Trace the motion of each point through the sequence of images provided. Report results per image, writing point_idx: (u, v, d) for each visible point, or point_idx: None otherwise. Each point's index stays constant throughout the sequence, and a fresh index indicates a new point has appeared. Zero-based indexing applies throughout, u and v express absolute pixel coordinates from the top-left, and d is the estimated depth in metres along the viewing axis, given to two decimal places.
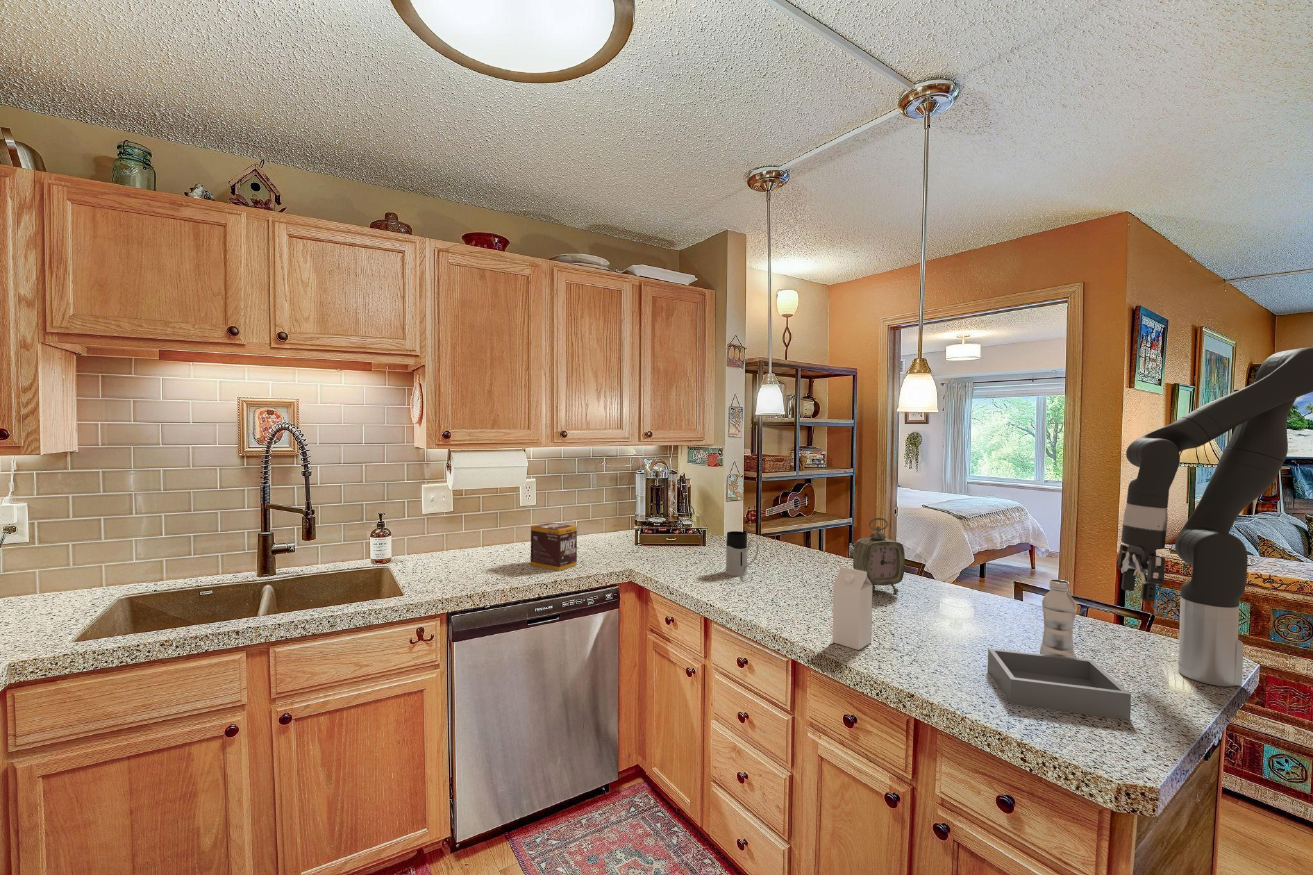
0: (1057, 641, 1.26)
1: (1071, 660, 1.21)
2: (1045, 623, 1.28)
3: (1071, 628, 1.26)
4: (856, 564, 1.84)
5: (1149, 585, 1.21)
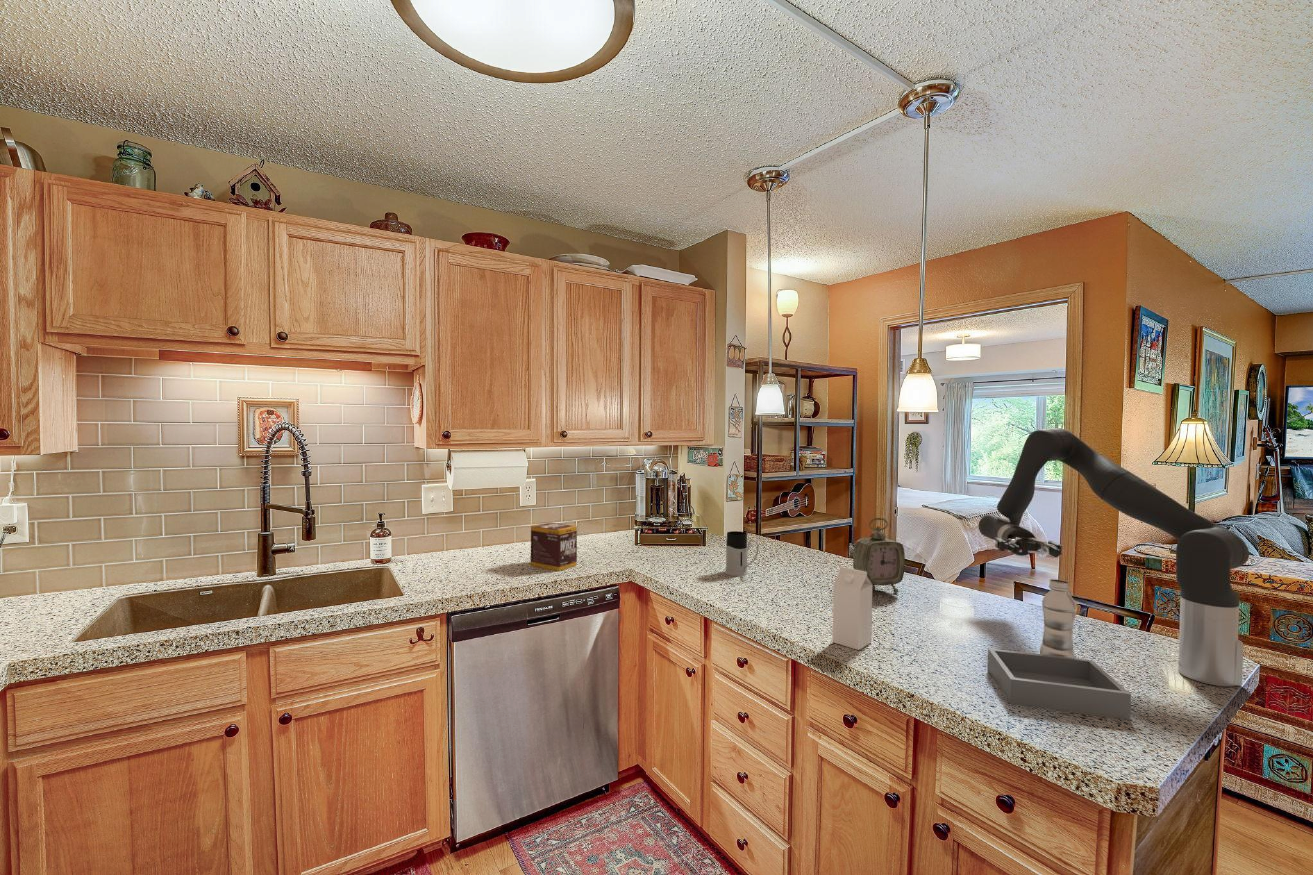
0: (1057, 641, 1.26)
1: (1071, 660, 1.21)
2: (1045, 623, 1.28)
3: (1071, 628, 1.26)
4: (856, 564, 1.84)
5: (1008, 548, 1.46)
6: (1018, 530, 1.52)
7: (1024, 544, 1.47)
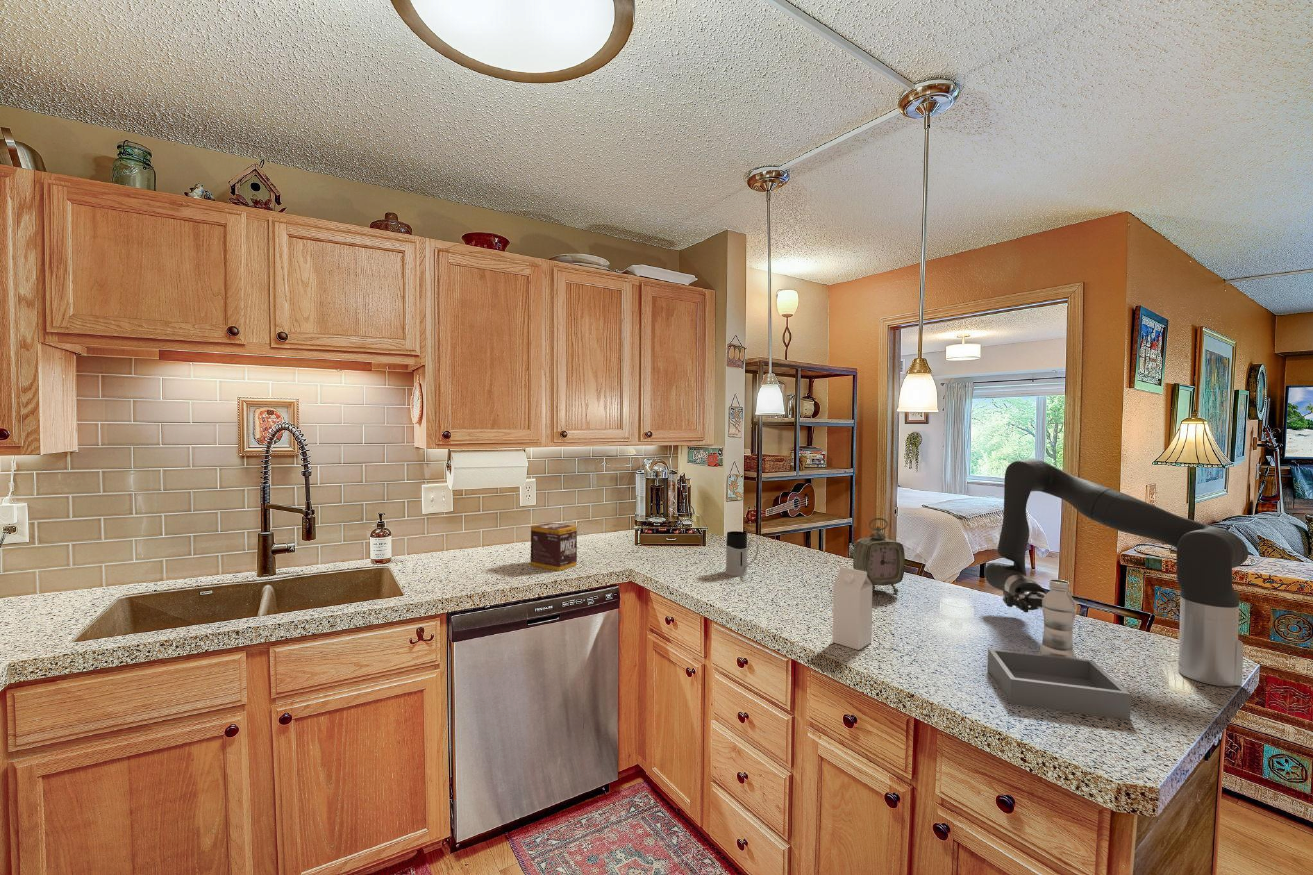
0: (1057, 641, 1.26)
1: (1071, 660, 1.21)
2: (1045, 623, 1.28)
3: (1071, 628, 1.26)
4: (856, 564, 1.84)
5: (1016, 605, 1.40)
6: (1026, 583, 1.46)
7: (1033, 600, 1.41)
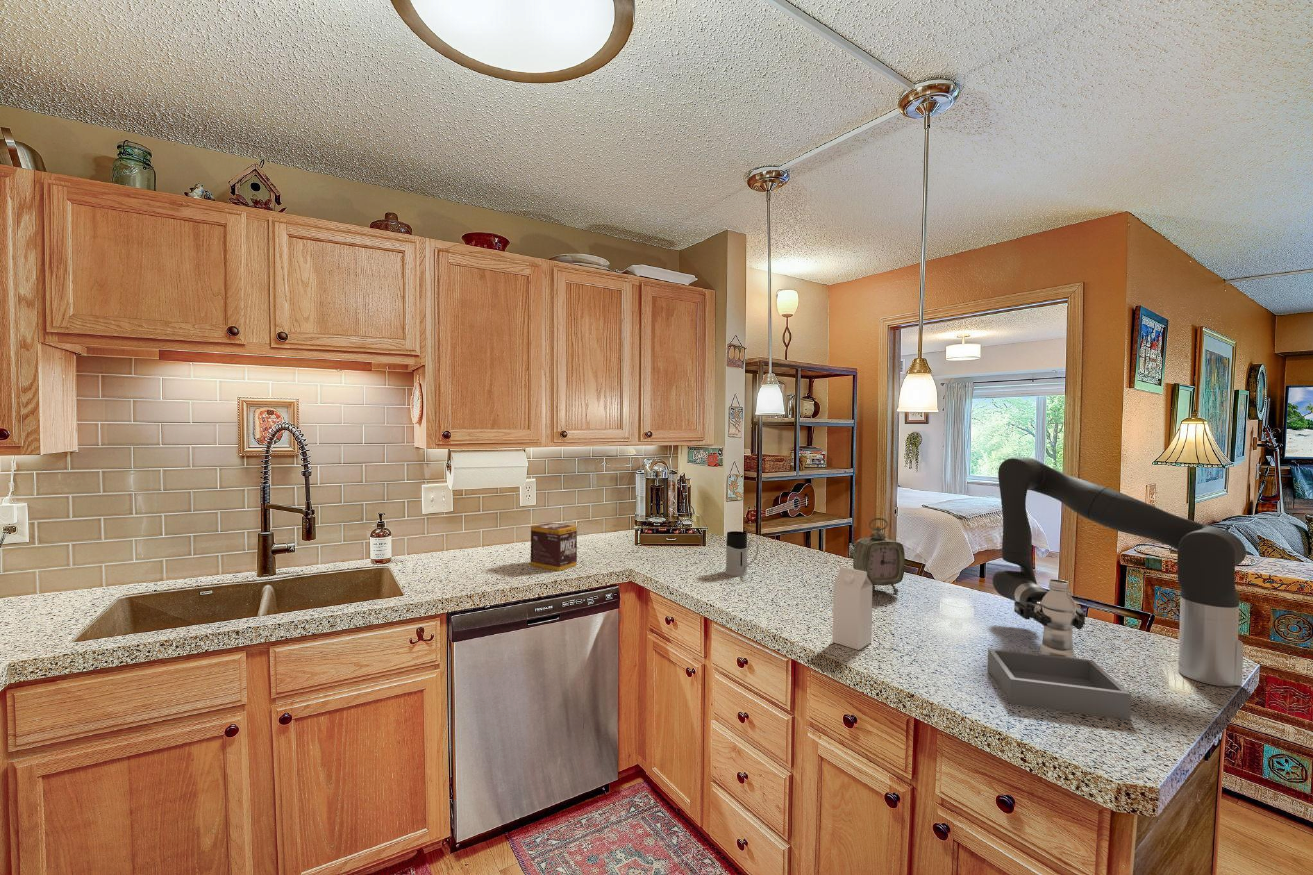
0: (1057, 641, 1.26)
1: (1071, 660, 1.21)
2: None
3: (1071, 628, 1.26)
4: (856, 564, 1.84)
5: (1034, 617, 1.30)
6: (1038, 593, 1.37)
7: None
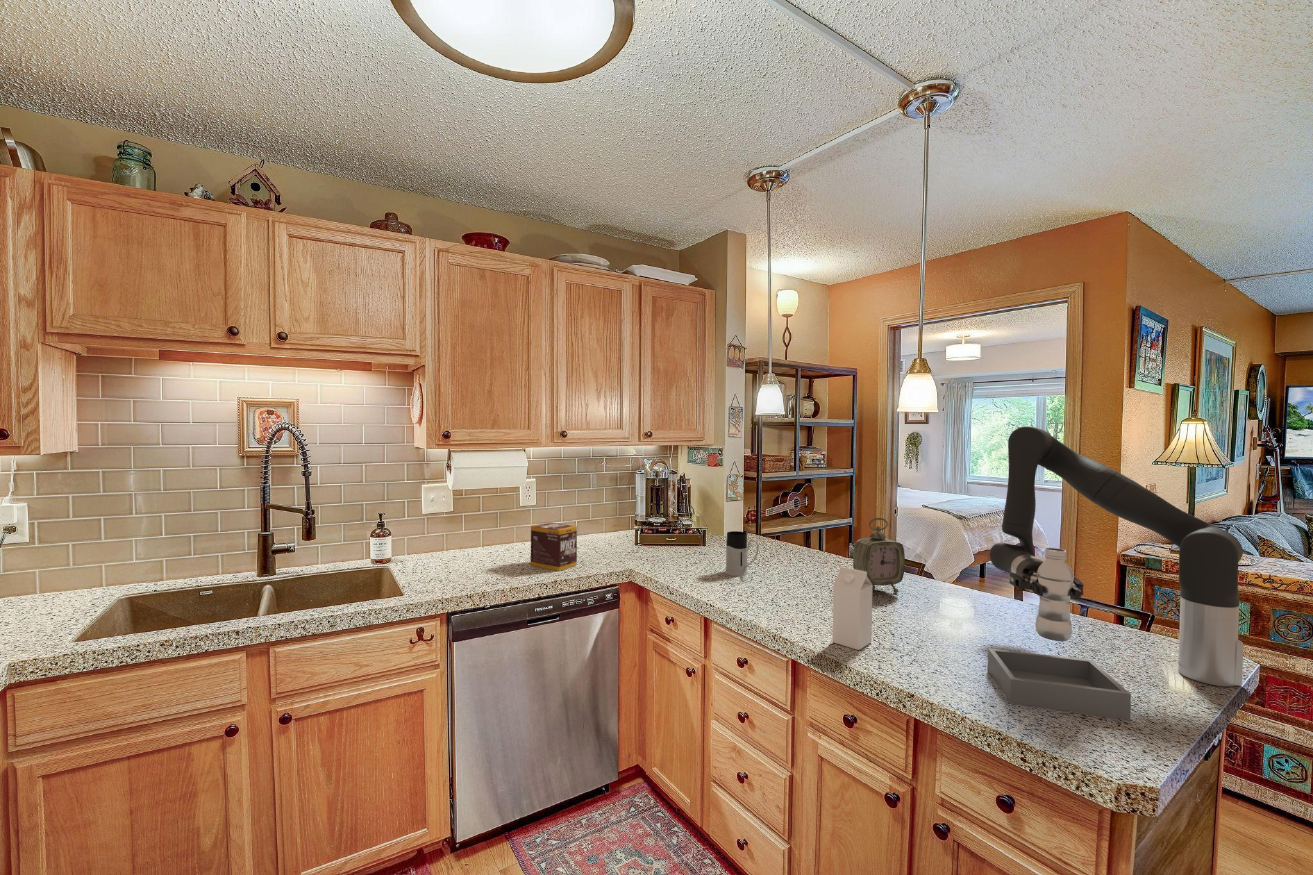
0: (1053, 612, 1.20)
1: (1071, 660, 1.21)
2: None
3: (1068, 598, 1.19)
4: (856, 564, 1.84)
5: (1029, 588, 1.24)
6: (1035, 564, 1.31)
7: None
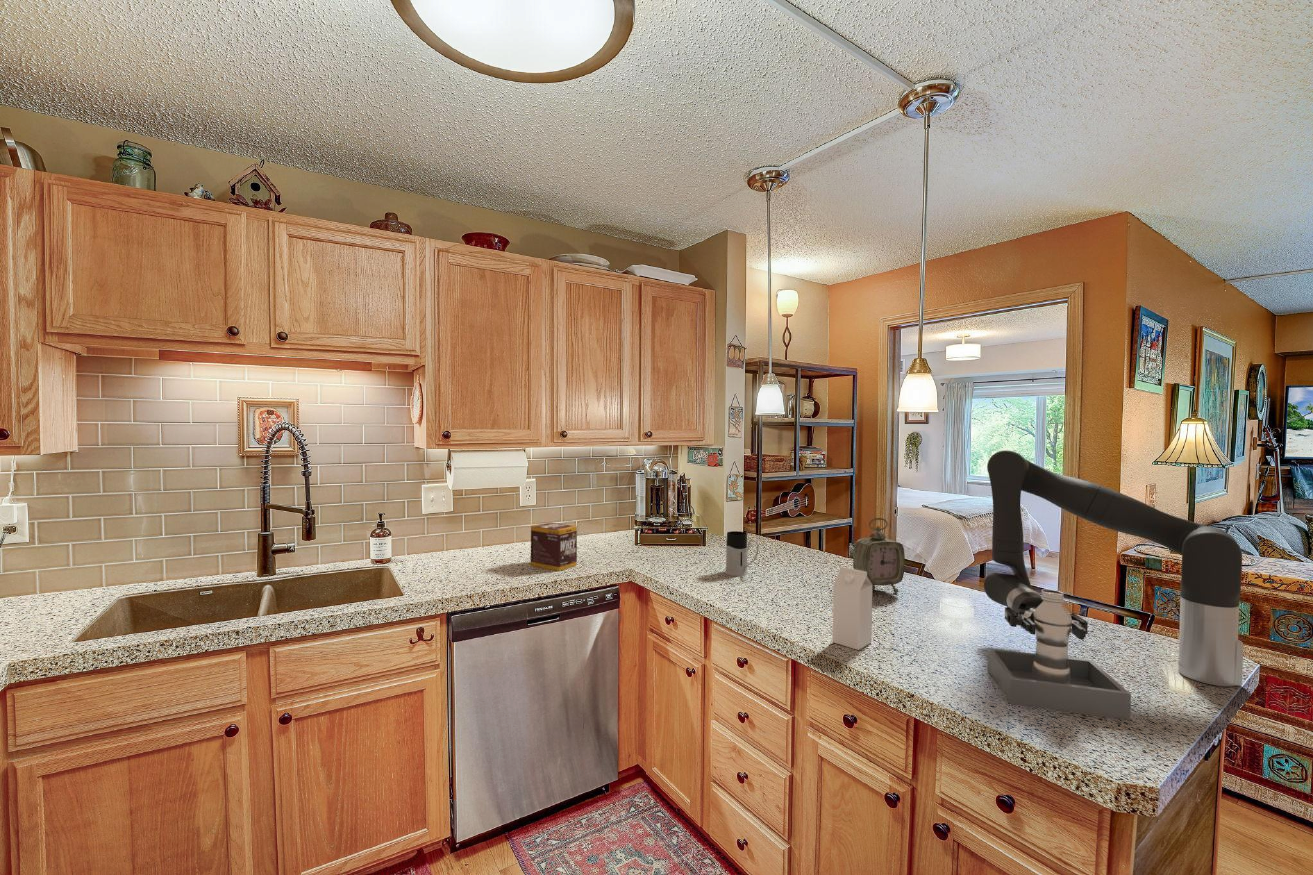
0: (1050, 658, 1.14)
1: (1071, 660, 1.21)
2: (1037, 638, 1.16)
3: (1066, 644, 1.13)
4: (856, 564, 1.84)
5: (1021, 625, 1.19)
6: (1033, 598, 1.25)
7: None
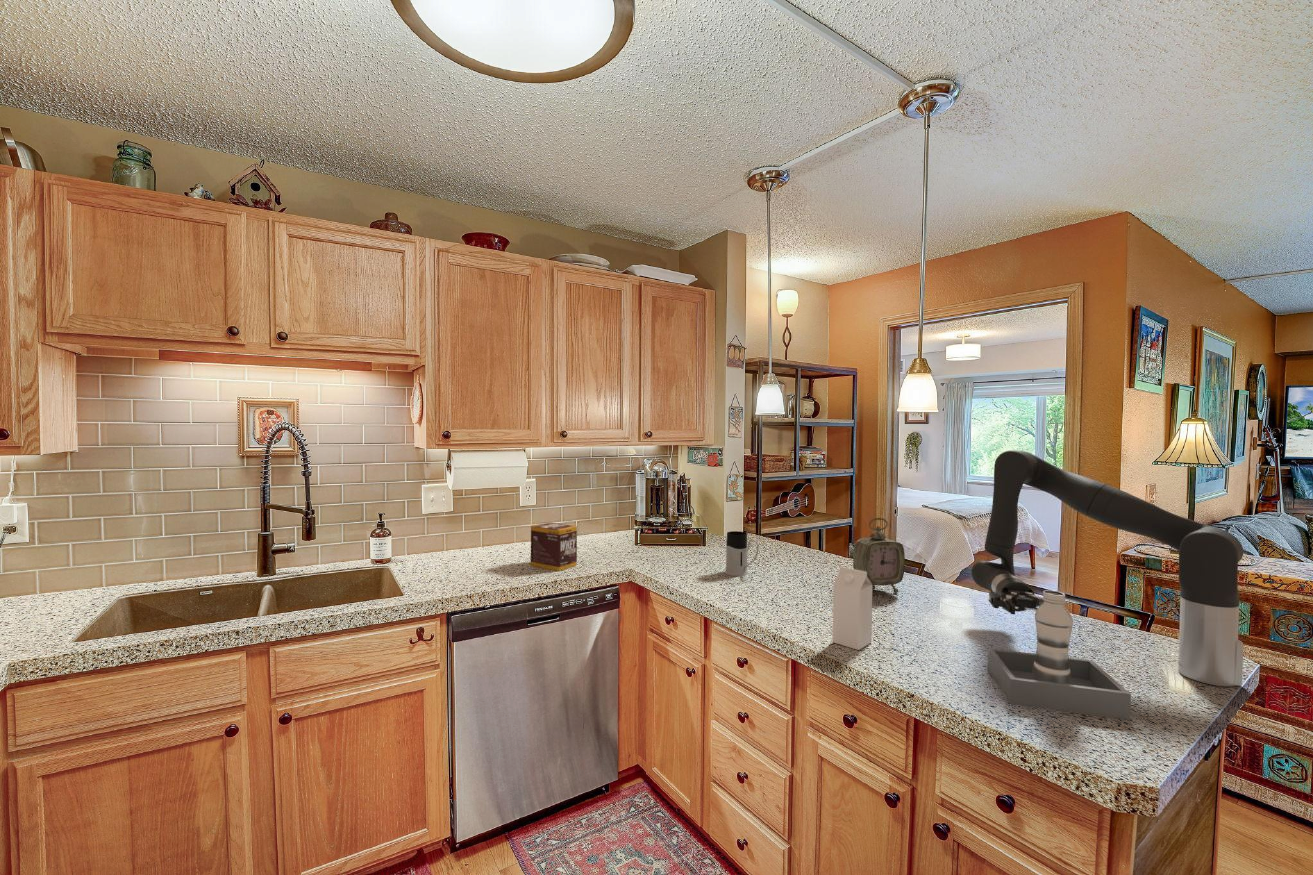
0: (1051, 659, 1.14)
1: (1071, 660, 1.21)
2: (1038, 639, 1.16)
3: (1067, 645, 1.13)
4: (856, 564, 1.84)
5: (1002, 606, 1.31)
6: (1014, 583, 1.37)
7: (1021, 601, 1.32)
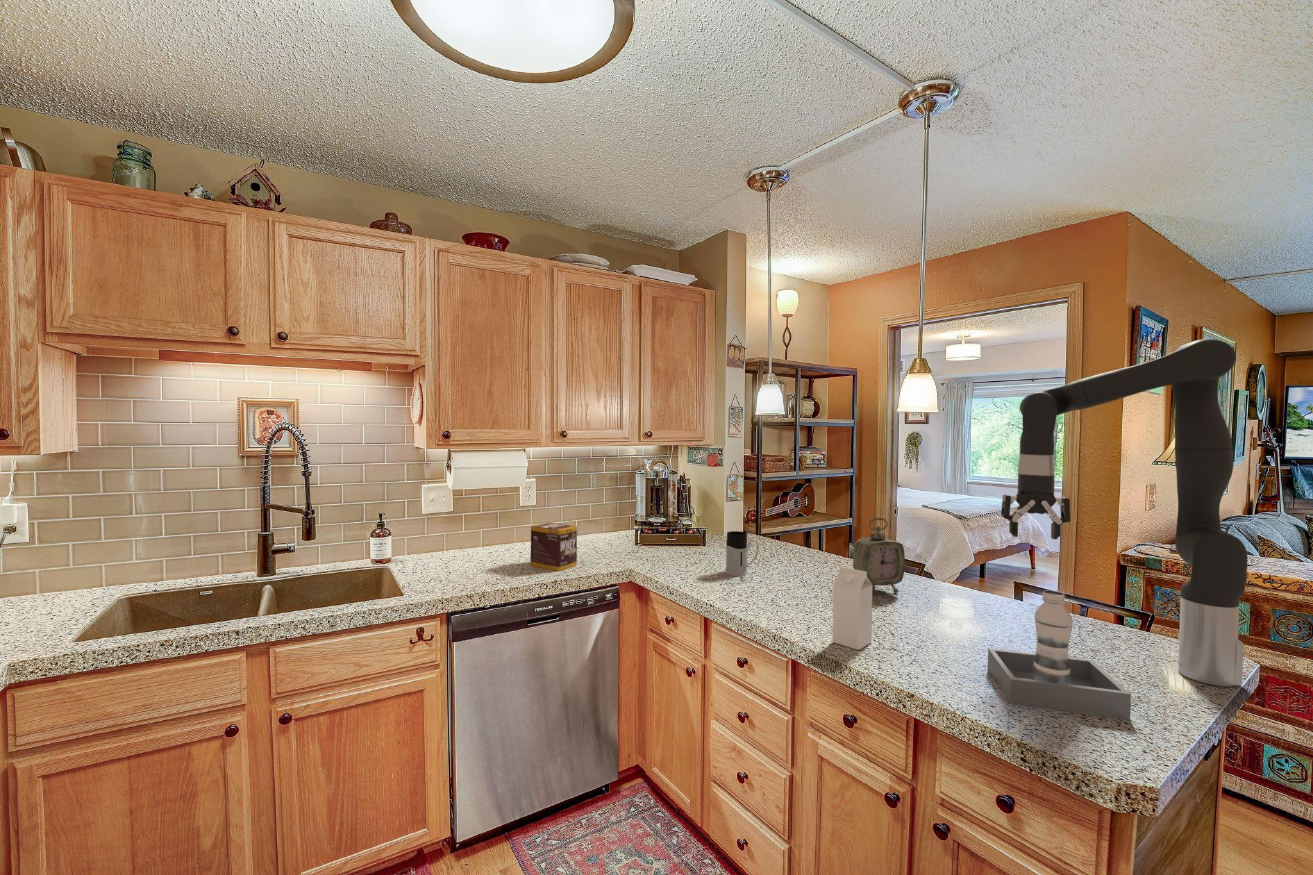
0: (1051, 659, 1.14)
1: (1071, 660, 1.21)
2: (1038, 639, 1.16)
3: (1066, 645, 1.13)
4: (856, 564, 1.84)
5: (1009, 521, 1.40)
6: (1036, 492, 1.35)
7: None
